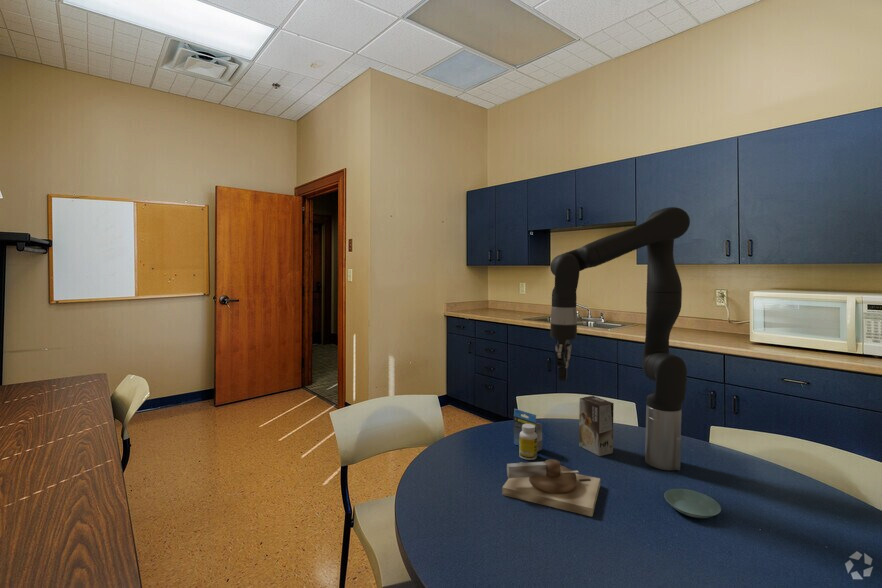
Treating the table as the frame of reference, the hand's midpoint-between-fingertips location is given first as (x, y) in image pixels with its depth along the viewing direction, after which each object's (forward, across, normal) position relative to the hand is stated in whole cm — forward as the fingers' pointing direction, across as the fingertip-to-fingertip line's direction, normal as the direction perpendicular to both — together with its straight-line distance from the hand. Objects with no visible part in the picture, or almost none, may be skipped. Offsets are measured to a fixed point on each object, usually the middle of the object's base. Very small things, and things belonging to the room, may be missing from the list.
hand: (562, 379), depth 127 cm
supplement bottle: (+25, -1, +10) cm, 27 cm away
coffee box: (+25, +14, -8) cm, 30 cm away
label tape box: (+25, +6, +12) cm, 29 cm away
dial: (+23, -19, +1) cm, 30 cm away
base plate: (+25, -18, -1) cm, 31 cm away
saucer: (+25, -12, -33) cm, 43 cm away
